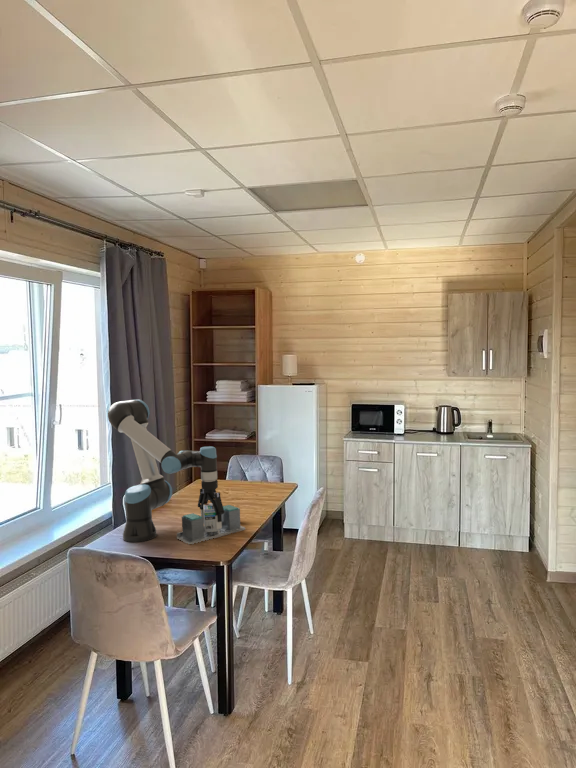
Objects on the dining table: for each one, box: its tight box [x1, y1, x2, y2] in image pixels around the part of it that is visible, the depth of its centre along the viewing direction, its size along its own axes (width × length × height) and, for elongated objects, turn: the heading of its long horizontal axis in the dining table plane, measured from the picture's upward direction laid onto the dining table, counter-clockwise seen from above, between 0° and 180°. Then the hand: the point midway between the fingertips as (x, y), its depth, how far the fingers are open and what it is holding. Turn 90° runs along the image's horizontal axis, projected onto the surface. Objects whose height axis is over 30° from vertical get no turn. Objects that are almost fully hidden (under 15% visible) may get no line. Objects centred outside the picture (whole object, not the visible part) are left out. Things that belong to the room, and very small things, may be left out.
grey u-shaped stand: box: [176, 504, 246, 545], centre depth 260 cm, size 30×12×11 cm, turn 130°
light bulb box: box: [203, 502, 219, 532], centre depth 260 cm, size 11×7×11 cm, turn 11°
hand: (211, 525), depth 260 cm, fingers closed on light bulb box, 12 cm apart
